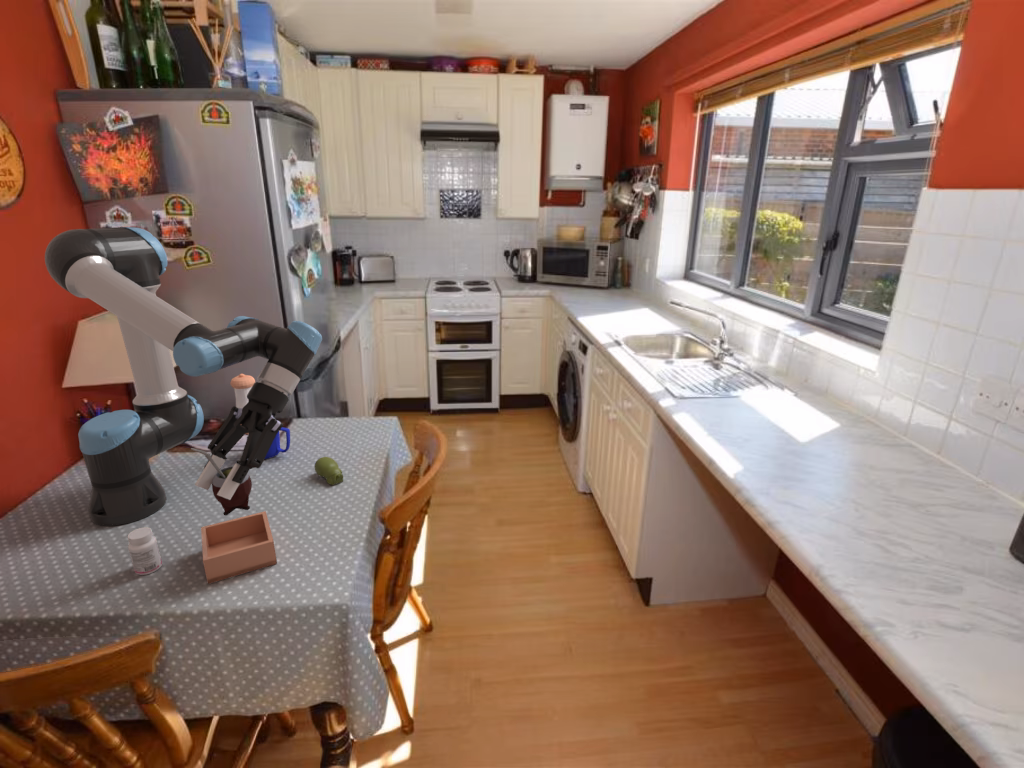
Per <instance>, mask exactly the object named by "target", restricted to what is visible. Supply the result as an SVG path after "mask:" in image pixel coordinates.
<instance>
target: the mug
mask: <svg viewBox="0 0 1024 768" xmlns="http://www.w3.org/2000/svg"><path fill="white" fill-rule="evenodd" d="M280 431H282V432H285V434H286V435H285V436H286V437H285V438H286V441H285V442H286V445H285V446H286V447H285V449H282V448H281V439H280V438H281V436H280V434H281V433H280ZM290 446H291V429H290V428H288V427H284V426H283V427H282V428H281V429H280V430H279V432H278V433H277V434H276V436H275V438H274V440H273V442H272V445H271V447H270V449H269V451H268V453H267V455H266V457H265V459H264V460H266V459H268V460H269V459H271V458H274V457H277V456H278V455H279V454H280V453H286V452H288V450H289V449H290Z"/></svg>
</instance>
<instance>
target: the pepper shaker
mask: <svg viewBox="0 0 1024 768" xmlns="http://www.w3.org/2000/svg"><path fill="white" fill-rule="evenodd" d="M254 383H256V380H255V377H253V376H252V375H248V374H244V373H239V374H238V375H236V376H234V377H233V378H231V381H230V384H229V385H230V387H232V388H233V391H234V397H235V407H237V408H243V407H244V406H245V405H246V404H247V403H248V402H249V399H248V398H247V394H248V393H249V391H250V389H251V388H252V386H253V384H254ZM241 425H242V424H241ZM248 434H249V433H246V434H245V435H247V436H248Z"/></svg>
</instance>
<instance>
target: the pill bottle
mask: <svg viewBox="0 0 1024 768" xmlns="http://www.w3.org/2000/svg"><path fill="white" fill-rule="evenodd" d="M127 542H128V545H127V546H128V547H127V548H128V553H129V556H130V559H131V564H132V567H133V570H134V573H135V575H141V576H143V575H144V576H146V575H149V574H152V573H154V572H156V571H158V570H159V569H160V568H161V567H162V565H163V560H162V556H161V552H160V548H159V545H158V541H157V537H156V536H155V535H154V533H153V531H152V529H151V527H147V526H146V527H139V528H136V529H134V530H132V531H131V532H129V533H128V534H127Z"/></svg>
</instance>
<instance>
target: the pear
mask: <svg viewBox="0 0 1024 768" xmlns="http://www.w3.org/2000/svg"><path fill="white" fill-rule="evenodd" d="M314 471H315V473H316V475H318V476H319V477H323V478H324V479H326V483H327V484H328V485H331V486H334V485H336V484H340V483H342V482H344V475H343V471H342V469H341V468H340V467H339V465H338V463H337V461H336V460H335V459H334V458H331V457H329V456H322V457H320V458H318V459H317V460H316V461H315V463H314Z"/></svg>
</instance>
